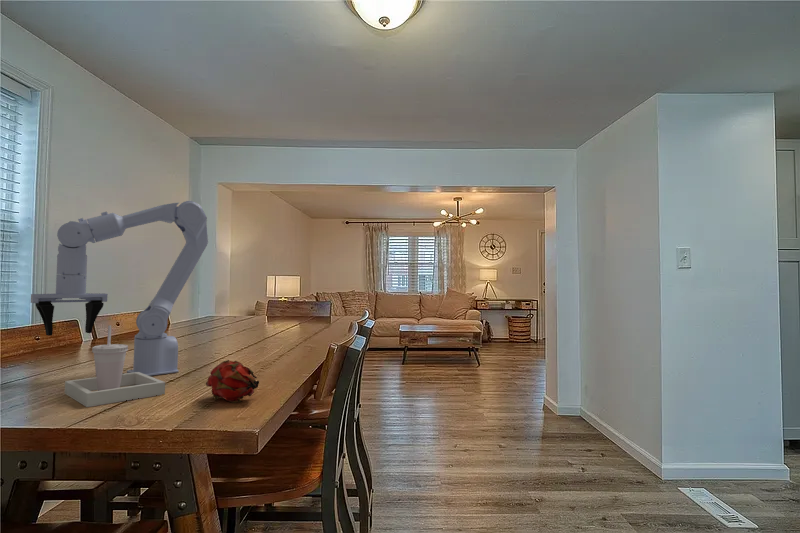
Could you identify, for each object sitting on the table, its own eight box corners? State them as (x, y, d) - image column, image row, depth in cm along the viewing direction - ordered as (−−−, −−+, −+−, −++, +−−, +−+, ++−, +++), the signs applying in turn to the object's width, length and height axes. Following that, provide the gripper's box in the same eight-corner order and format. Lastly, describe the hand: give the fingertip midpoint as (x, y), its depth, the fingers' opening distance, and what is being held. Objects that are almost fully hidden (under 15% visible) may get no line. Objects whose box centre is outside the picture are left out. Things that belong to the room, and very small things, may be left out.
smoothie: (82, 397, 95) (85, 326, 95) (101, 389, 101) (104, 323, 101) (115, 397, 95) (118, 327, 95) (132, 390, 101) (135, 324, 101)
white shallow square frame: (138, 382, 107) (138, 371, 108) (164, 394, 98) (165, 382, 98) (64, 393, 97) (65, 381, 97) (86, 407, 88) (87, 393, 88)
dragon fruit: (213, 401, 100) (252, 419, 94) (187, 383, 94) (226, 402, 88) (237, 365, 104) (276, 381, 98) (213, 347, 98) (252, 362, 91)
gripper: (101, 275, 118) (99, 330, 117) (28, 273, 107) (25, 334, 106) (111, 275, 113) (109, 332, 113) (36, 274, 102) (33, 337, 102)
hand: (69, 333), depth 109 cm, fingers open, 7 cm apart
